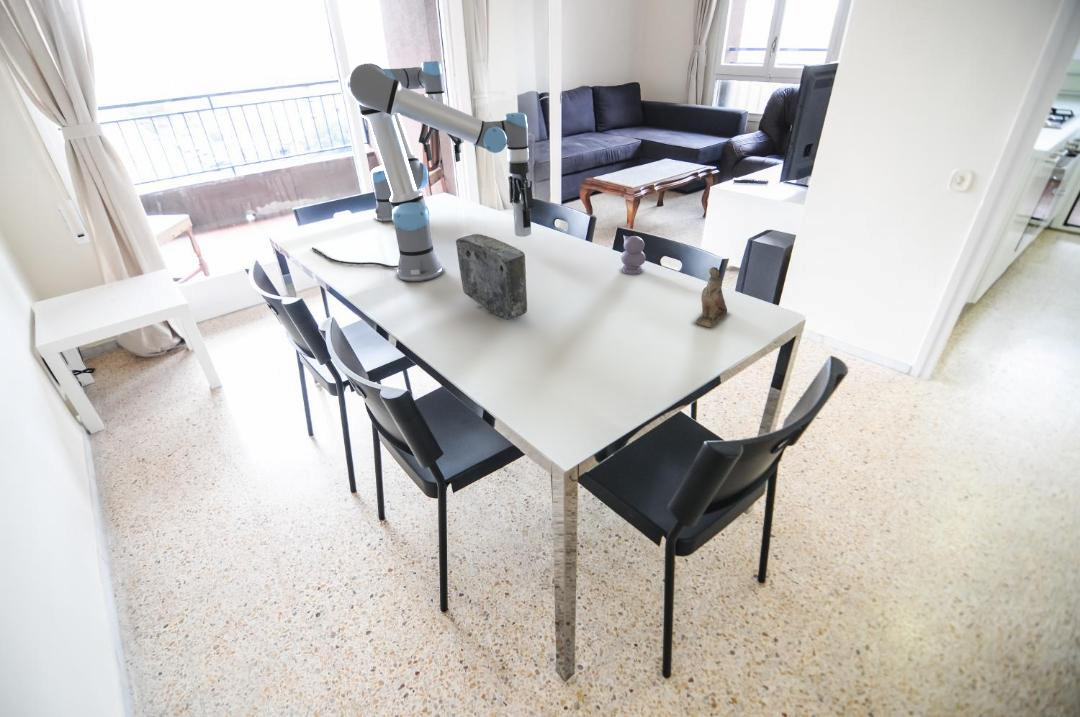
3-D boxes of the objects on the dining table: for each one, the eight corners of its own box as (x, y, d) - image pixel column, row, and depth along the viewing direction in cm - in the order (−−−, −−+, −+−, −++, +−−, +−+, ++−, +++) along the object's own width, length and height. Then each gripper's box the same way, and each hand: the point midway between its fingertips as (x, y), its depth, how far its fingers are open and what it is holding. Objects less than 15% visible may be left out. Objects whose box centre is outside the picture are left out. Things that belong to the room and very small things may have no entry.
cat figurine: (649, 270, 171) (652, 236, 165) (636, 276, 167) (638, 242, 160) (628, 264, 176) (630, 231, 170) (615, 271, 172) (617, 237, 165)
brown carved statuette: (709, 335, 136) (713, 280, 124) (691, 329, 139) (693, 274, 128) (730, 313, 142) (736, 258, 130) (712, 307, 145) (716, 253, 133)
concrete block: (534, 321, 142) (531, 253, 131) (508, 330, 137) (503, 261, 127) (486, 291, 160) (480, 231, 150) (462, 299, 156) (454, 237, 145)
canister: (511, 234, 192) (509, 201, 185) (524, 230, 195) (522, 198, 188) (521, 237, 187) (519, 204, 181) (534, 233, 191) (533, 201, 184)
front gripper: (541, 163, 172) (544, 229, 184) (514, 156, 186) (518, 217, 198) (522, 166, 168) (526, 233, 181) (497, 158, 183) (502, 221, 195)
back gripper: (405, 106, 202) (413, 161, 213) (460, 106, 195) (466, 163, 206) (414, 104, 208) (422, 158, 219) (468, 104, 201) (473, 160, 212)
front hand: (522, 225), depth 189 cm, fingers closed on canister, 6 cm apart
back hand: (443, 161), depth 212 cm, fingers open, 13 cm apart
